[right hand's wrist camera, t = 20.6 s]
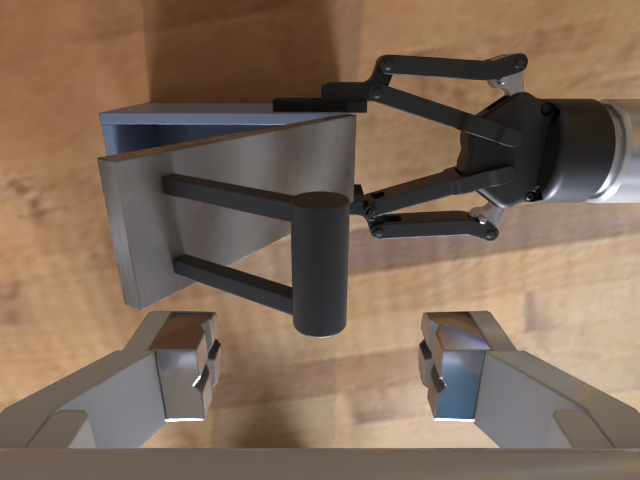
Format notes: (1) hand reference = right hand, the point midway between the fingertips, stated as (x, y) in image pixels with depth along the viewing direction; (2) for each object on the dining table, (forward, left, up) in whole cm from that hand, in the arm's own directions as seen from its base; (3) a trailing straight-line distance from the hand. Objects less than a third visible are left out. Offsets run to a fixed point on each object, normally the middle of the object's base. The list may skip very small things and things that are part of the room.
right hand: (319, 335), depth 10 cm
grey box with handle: (-1, +3, -14) cm, 14 cm away
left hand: (-1, +3, -24) cm, 24 cm away
